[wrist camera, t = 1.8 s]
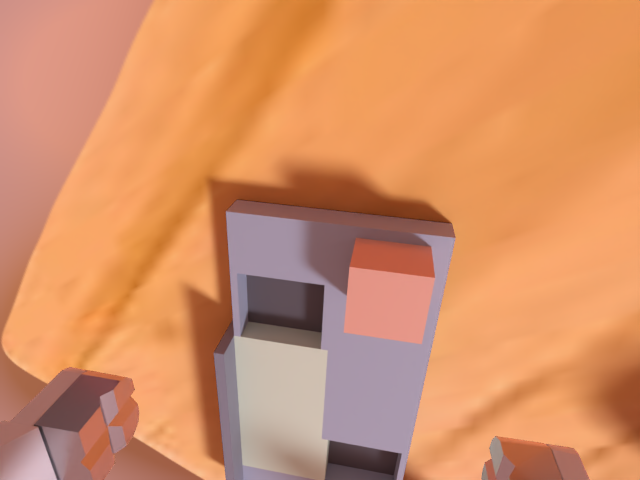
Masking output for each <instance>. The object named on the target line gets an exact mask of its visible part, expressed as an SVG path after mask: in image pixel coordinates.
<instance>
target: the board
mask: <svg viewBox="0 0 640 480" xmlns="http://www.w3.org/2000/svg"><path fill="white" fill-rule="evenodd" d="M226 222H227V237H228V252H229V267H230V282H231V297H232V313H233V320H232V322H231V323H230V325H229V327H228V329H227V330H226V332H225V334H224V336H223V337H222V339H221V341H220V343H219V344H218V346H217V348H216V350H215V351H214V362H215V372H216V382H217V393H218V403H219V413H220V423H221V434H222V444H223V454H224V465H225V475H226V480H403V477H404V472H405V467H406V463H407V458H408V454H409V449H410V444H411V440H412V435H413V431H414V426H415V421H416V417H417V412H418V408H419V403H420V399H421V394H422V389H423V385H424V380H425V376H426V371H427V366H428V362H429V357H430V353H431V348H432V343H433V339H434V334H435V330H436V325H437V320H438V316H439V311H440V307H441V302H442V297H443V293H444V288H445V284H446V279H447V274H448V270H449V265H450V261H451V256H452V252H453V247H454V242H455V234H454V230H453V225H452V223H443V222H434V221H425V220H416V219H407V218H398V217H389V216H380V215H371V214H362V213H353V212H344V211H335V210H326V209H317V208H308V207H299V206H290V205H281V204H272V203H263V202H254V201H245V200H236V201H235V202H234V203H233V204H232V205H231V206H230V208H229V209H228V210H227V211H226ZM356 238H363V239H371V240H380V241H388V242H397V243H405V244H413V245H422V246H430V247H432V256H433V264H434V272H435V281H434V286H433V291H432V296H431V301H430V306H429V311H428V316H427V321H426V326H425V331H424V336H423V341H422V344H416V343H410V342H403V341H396V340H390V339H383V338H376V337H370V336H363V335H356V334H350V333H344V323H345V311H346V300H347V289H348V278H349V267H350V262H351V258H352V253H353V249H354V244H355V240H356Z"/></svg>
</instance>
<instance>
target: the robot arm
mask: <svg viewBox="0 0 640 480" xmlns="http://www.w3.org/2000/svg"><path fill="white" fill-rule="evenodd" d="M134 390H135V389H134V385H133V381H132V379H130V378H127V377H121V376H116V375H111V374H106V373H100V372H95V371H90V370H83V369H78V368H72V367H69V368H67V369H64V370H62V371H61V372H60V373H59V374H58V375H57V376H56V377H55V378H54V379H53V380H52V381H51V382H50V383H49V384H48V385H47V386H46V387H45V388H44V389H43V390H42V391H41V392H39V394H37V396H35V398H33V400H31V402H29V403H28V404H27V405H26V406H25V407H24V408H23V409H22V410H21V411H20V412H19V413H18V414H17V415H16V416H15V417H14V418H13V419H12V420H11V421H2V422H0V480H104V479H105V477H106V476H107V474H108V473H109V472H110V470H111V468H112V467H113V465H114V464H115V456H114V453H116V452H117V451H119V450H121V449H122V448H124V447H126V446H127V444H128V443H129V441H130V440H131V438H132V437H133V435H134V432H135V430H136V427H137V424H138V420H139V408H138V404H137V403H136V402H135V400H134V399H133V398H132V397H131V394H132V393H133V392H134ZM490 453H491V458H492V459H490V460H488V461H487V462H485V464H484V468H483V472H482V480H590V479H589V477H588V475H587V472H586V470H585V468H584V466H583V463H582V461H581V459H580V457H579V454H578V453H577V452H576V451H575V449H574V448H569V447H563V446H556V445H550V444H544V443H539V442H532V441H525V440H518V439H512V438H505V437H498V436H495V437H494V438H493V440H492V442H491V445H490Z"/></svg>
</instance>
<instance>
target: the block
mask: <svg viewBox="0 0 640 480" xmlns="http://www.w3.org/2000/svg"><path fill="white" fill-rule="evenodd" d="M434 281H435V272H434V264H433V256H432V247H430V246H422V245H413V244H405V243H397V242H388V241H380V240H371V239H363V238H356V240H355V244H354V249H353V253H352V258H351V262H350V267H349V278H348V289H347V300H346V311H345V323H344V333H350V334H356V335H363V336H370V337H376V338H383V339H390V340H396V341H403V342H410V343H416V344H422V341H423V336H424V331H425V326H426V321H427V316H428V311H429V306H430V301H431V296H432V291H433V286H434Z"/></svg>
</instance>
